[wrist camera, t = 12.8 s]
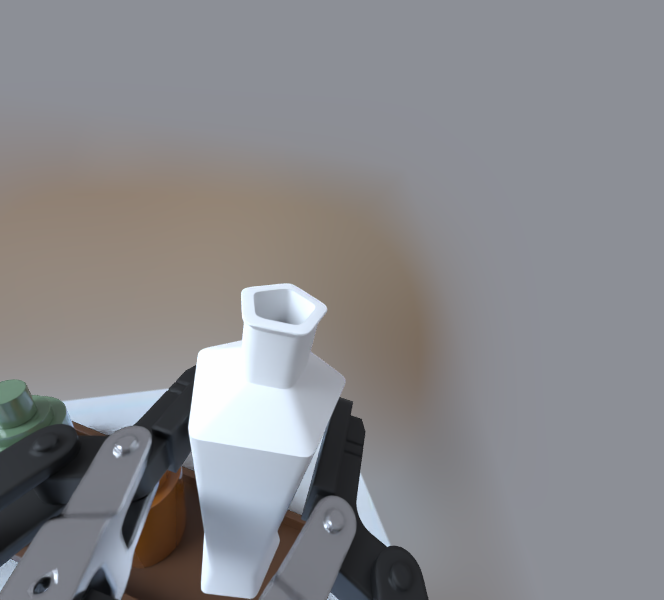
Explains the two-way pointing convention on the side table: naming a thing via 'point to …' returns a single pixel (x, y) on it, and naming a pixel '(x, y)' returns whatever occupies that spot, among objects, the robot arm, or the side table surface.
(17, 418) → the sage bottle
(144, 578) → the tray
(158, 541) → the amber bottle
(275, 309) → the perfume bottle
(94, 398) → the side table surface
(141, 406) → the side table surface
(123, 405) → the side table surface
